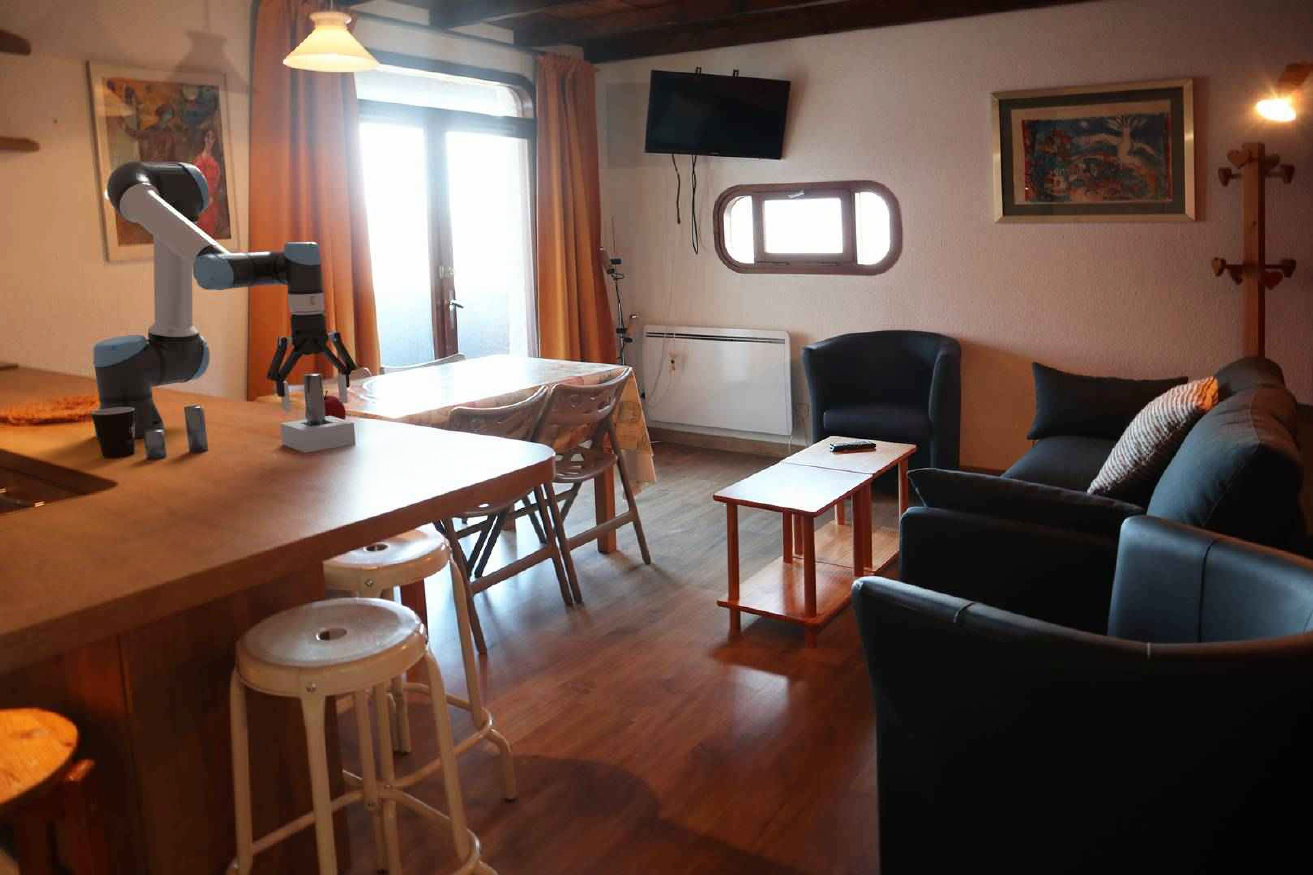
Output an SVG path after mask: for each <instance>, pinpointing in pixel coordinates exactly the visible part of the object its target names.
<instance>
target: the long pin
mask: <svg viewBox="0 0 1313 875" xmlns="http://www.w3.org/2000/svg"><path fill="white" fill-rule="evenodd" d="M322 375H323V374H322V373H307V374H303V375H302V377H303V378H302V379H303V389H304V400H305V413H306V414H307V425H308V426H317V425H323V424H326V419H325V407H324V396H325V395H324V386H323V385H324V384H323V376H322Z"/></svg>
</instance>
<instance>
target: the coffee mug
mask: <svg viewBox="0 0 1313 875" xmlns="http://www.w3.org/2000/svg"><path fill="white" fill-rule="evenodd" d="M90 413H91V417H92V421H93V424H94V430H95V429H96V433H97V437H98V438H97V440H98V443H99V447H100V451H101V455H102V458H104V459H121V458H127V457H131V456H133V455H135V452H136V450H135V448H136V444H135V443H136V442H135V441H136V438H135V409H134V408H131V407H117V408H107V409H100V410H99V409H97V410H93V411H91V412H90Z"/></svg>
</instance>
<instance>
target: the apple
mask: <svg viewBox="0 0 1313 875" xmlns="http://www.w3.org/2000/svg"><path fill="white" fill-rule="evenodd" d="M328 392H329V391H328V390H325V394H324V395H323V396H324V407H325V416H333V417H336V418H340V419H343V420H346V416H347V415H346V414H347V412H346V411H347V410H346V407H345V405H344V403H341V402H339V397H336V396H334V395H327V394H328ZM306 419H307V414H306V412H305V420H306Z"/></svg>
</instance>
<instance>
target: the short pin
mask: <svg viewBox="0 0 1313 875" xmlns="http://www.w3.org/2000/svg"><path fill="white" fill-rule="evenodd" d="M165 438H166V437H165V430H163V429H152V430H146V431H144V437H143V440H144V446H145V447H144V448H145V454H146V455H145V456H146V460H148V461H152V460H153V461H157V460H162V459H166V458H167V457H168V456H167V446H166V439H165Z"/></svg>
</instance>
